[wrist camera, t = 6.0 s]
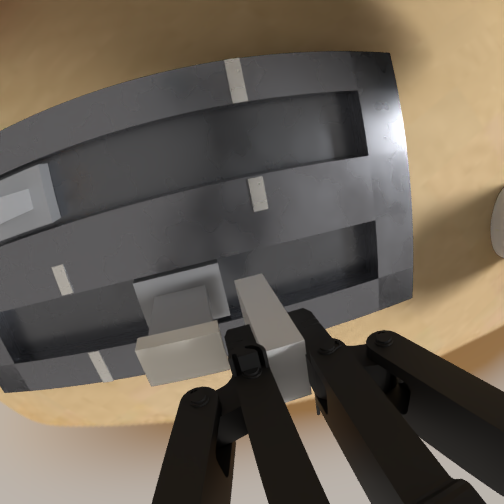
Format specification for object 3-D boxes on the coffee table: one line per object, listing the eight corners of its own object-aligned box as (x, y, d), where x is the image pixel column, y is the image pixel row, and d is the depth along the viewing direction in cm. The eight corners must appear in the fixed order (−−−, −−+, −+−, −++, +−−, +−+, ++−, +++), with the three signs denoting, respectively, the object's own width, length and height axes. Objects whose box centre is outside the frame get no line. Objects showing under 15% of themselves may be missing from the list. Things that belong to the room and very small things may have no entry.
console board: (-58, 175, 15) (-81, 179, 12) (367, 61, 19) (390, 52, 16) (16, 372, 20) (4, 393, 18) (392, 283, 24) (413, 298, 22)
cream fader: (135, 274, 19) (113, 340, 12) (215, 255, 19) (232, 312, 13) (152, 322, 20) (142, 400, 13) (227, 304, 21) (249, 377, 14)
